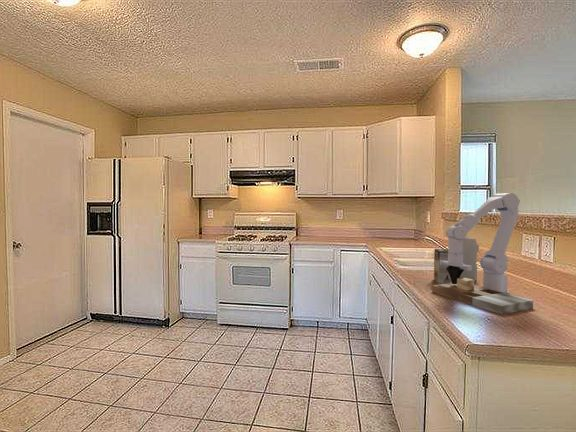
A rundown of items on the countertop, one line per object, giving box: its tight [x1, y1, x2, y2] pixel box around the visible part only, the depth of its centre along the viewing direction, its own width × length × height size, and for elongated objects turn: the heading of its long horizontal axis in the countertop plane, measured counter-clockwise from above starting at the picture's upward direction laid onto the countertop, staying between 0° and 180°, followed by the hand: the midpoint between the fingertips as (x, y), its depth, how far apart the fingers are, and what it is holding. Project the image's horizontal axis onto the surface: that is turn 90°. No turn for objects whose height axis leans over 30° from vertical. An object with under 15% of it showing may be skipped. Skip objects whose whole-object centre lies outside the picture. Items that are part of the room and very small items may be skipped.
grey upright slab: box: [457, 236, 480, 282], centre depth 162 cm, size 11×4×22 cm, turn 51°
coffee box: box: [433, 248, 452, 285], centre depth 155 cm, size 9×6×16 cm
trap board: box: [431, 282, 534, 315], centre depth 126 cm, size 18×30×3 cm, turn 23°
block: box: [457, 278, 475, 290], centre depth 132 cm, size 4×4×4 cm
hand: (454, 283), depth 137 cm, fingers closed
